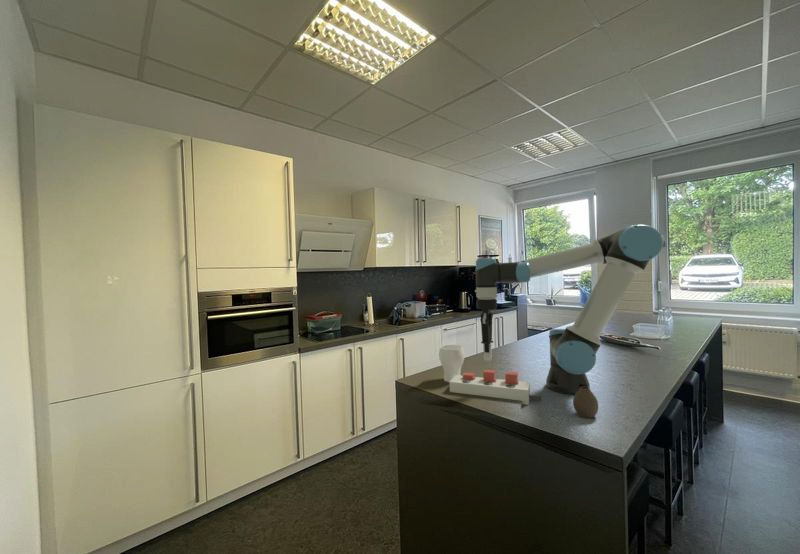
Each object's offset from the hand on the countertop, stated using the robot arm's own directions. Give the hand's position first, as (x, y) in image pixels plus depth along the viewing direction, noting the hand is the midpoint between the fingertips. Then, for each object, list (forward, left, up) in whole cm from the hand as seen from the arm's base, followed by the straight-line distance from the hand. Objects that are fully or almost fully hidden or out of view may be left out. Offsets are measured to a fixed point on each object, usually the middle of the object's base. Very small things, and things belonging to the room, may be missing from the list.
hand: (487, 360), depth 122 cm
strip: (-2, +1, -13) cm, 13 cm away
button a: (-8, -1, -8) cm, 12 cm away
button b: (0, -1, -8) cm, 8 cm away
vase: (-31, +8, -13) cm, 35 cm away
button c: (+8, -1, -10) cm, 12 cm away
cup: (+17, -9, -13) cm, 23 cm away
